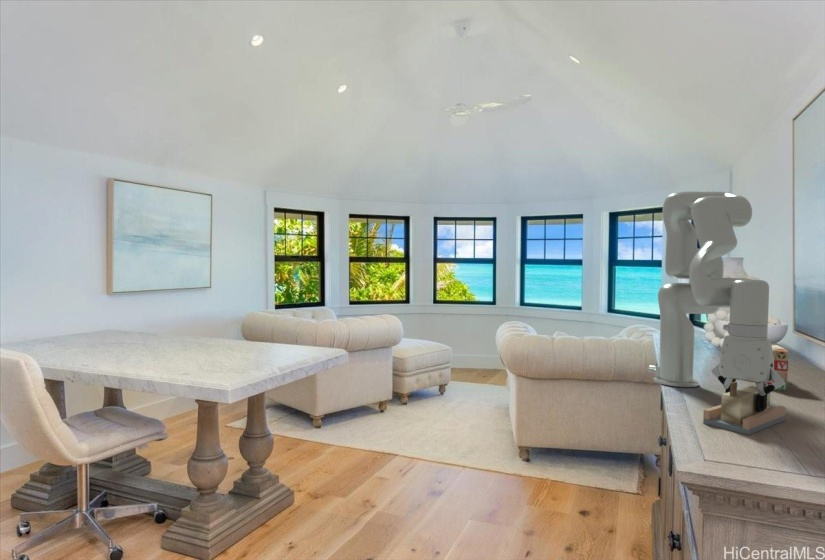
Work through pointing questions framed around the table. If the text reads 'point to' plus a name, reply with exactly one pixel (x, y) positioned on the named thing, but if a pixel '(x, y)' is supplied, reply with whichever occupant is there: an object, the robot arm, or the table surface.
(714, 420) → the jig cradle
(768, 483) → the table surface
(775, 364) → the stack of blocks
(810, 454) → the table surface
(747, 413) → the tapered cream block
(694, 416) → the table surface
